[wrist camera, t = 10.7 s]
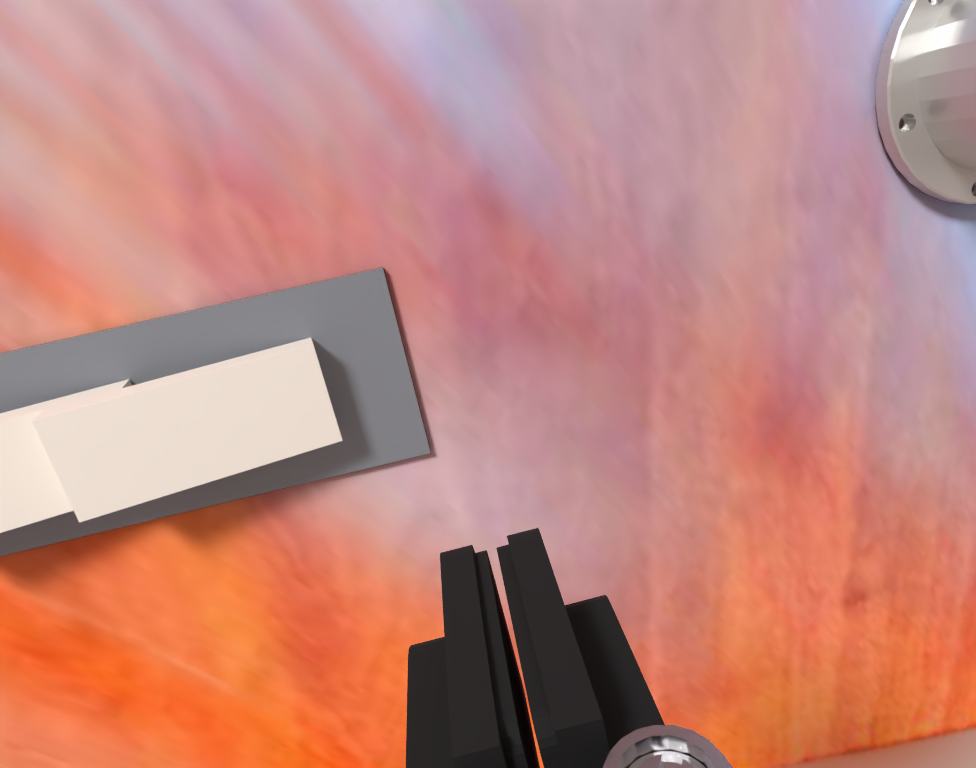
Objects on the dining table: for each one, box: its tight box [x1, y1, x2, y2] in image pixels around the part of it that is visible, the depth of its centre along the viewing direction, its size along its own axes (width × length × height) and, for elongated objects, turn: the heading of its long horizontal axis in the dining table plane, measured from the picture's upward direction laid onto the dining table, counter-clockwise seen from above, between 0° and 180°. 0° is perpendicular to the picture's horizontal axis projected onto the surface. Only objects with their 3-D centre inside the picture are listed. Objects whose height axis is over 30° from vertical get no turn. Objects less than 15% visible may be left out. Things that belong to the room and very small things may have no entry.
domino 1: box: [0, 379, 132, 533], centre depth 30 cm, size 2×5×12 cm
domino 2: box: [32, 337, 343, 523], centre depth 31 cm, size 2×5×12 cm
